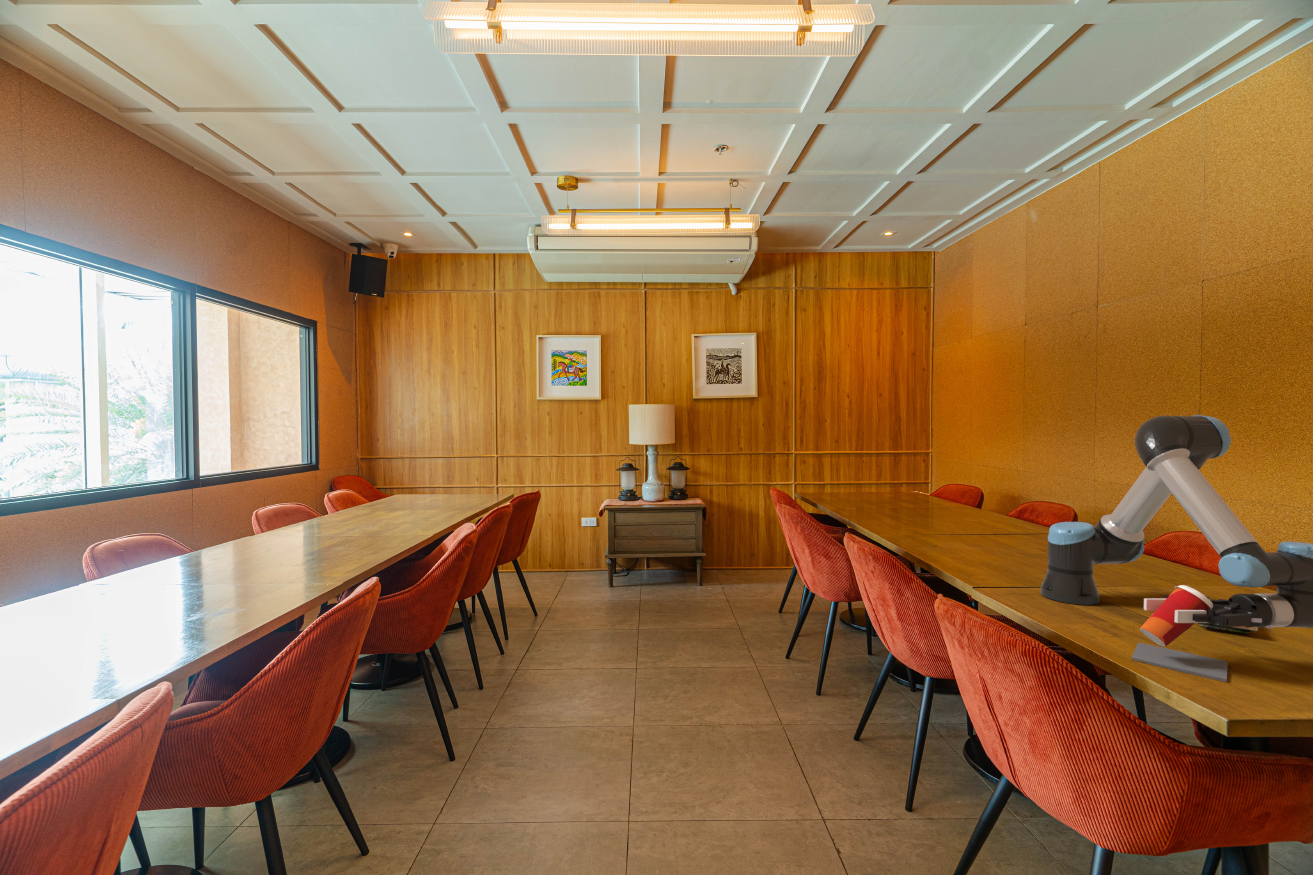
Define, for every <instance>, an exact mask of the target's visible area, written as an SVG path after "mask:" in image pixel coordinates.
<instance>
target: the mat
mask: <svg viewBox="0 0 1313 875" xmlns="http://www.w3.org/2000/svg"><path fill="white" fill-rule="evenodd" d="M1130 659H1133V660H1137V661H1140V662H1139V663H1142V662H1145V663H1144V664H1146V663H1147V665H1150V664H1151V665H1150V666H1155V667H1160V668H1163V667H1164V668H1165V669H1167V668H1168V670H1172V671H1177V672H1181V673H1184V674H1191V675H1194V676H1199V677H1202V678H1208V679H1212V680H1216V681H1221V682H1224V683H1227V682H1228V661H1227V660H1223V659H1218V658H1213V657H1209V656H1203V655H1199V654H1194V653H1191V652H1185V651H1181V650H1176V649H1170V648H1166V647H1163V646H1156V645H1153V644H1147V643H1144V642H1137V644H1136V647H1135V648H1134V650H1133V654H1132V655H1131V658H1130ZM1133 660H1132V661H1133ZM1137 661H1136V662H1137ZM1164 668H1163V669H1164Z"/></svg>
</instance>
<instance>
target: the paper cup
mask: <svg viewBox="0 0 1313 875" xmlns="http://www.w3.org/2000/svg"><path fill="white" fill-rule="evenodd" d="M1168 595H1169V597H1168V598H1167V599H1166V600H1165V601H1164V602H1163V603H1162V604H1161V605H1160V606H1159V608H1158V609H1157V610H1156V611H1153V613H1152V614H1151V615H1150V616H1149V617H1148V619H1146V621H1144V623H1143V624H1142V625H1141V626H1140V628H1139V630H1140V632H1141V633H1142V634H1143V635H1144V636H1145V637H1146V638H1148V639H1149V640H1150V641H1152V642H1154V643H1155V644H1157V645H1158V646H1159V647H1162V648H1166V647H1167V646H1168V645H1169V644H1171V643H1173V641H1175V640H1176V639H1178V637H1180V636H1181V635H1182V634H1184V633H1185V632H1187V631H1188V630H1189V629H1190V628H1191V627H1192V626H1194V625H1195V624H1196V623H1176V622H1175V610H1205V611H1207V613H1208V609H1212V607H1213V603H1212V602H1211V601H1210V600H1209V599H1210V598H1209V599H1208V598H1207V597H1208V596H1207V597H1206V595H1205V594H1203V593H1202V592H1200V591H1198V590H1196V589H1195V588H1192V587H1190V586H1189V585H1185V584H1181V585H1179V584H1178V586H1174V588H1173V591H1172V592H1171V593H1170V594H1168Z"/></svg>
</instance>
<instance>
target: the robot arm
mask: <svg viewBox="0 0 1313 875" xmlns="http://www.w3.org/2000/svg"><path fill="white" fill-rule="evenodd" d="M1231 443H1232V437H1231V435H1230V430H1229V428H1228V427H1227V425H1226V424H1225V423H1224V422H1223V421H1222V420H1220V419H1219V418H1216V417H1213V416H1207V415H1200V414H1195V415H1160V416H1159V415H1158V416H1153V417H1152V418H1150V419H1148V420H1146V421H1145V422H1143V423H1142V424H1141V425H1140V426H1139V428H1138V429H1137V431H1136V432H1135V436H1134V447H1135V450H1136V453H1137V455H1138V457H1139V459H1140V460H1141V462H1142V463H1143V465H1144V466H1145V468H1144V469H1143V471H1142V472H1141V473H1140V474H1139V476H1138V477H1137V479H1136V480H1135V482H1134V483H1133V484H1132V486H1131V487H1130V488H1129V489H1128V491H1127V492H1126V493H1125V495H1124V496H1123V498H1122V499H1121V501H1120V502H1119V503H1118V504H1117V506H1116V507H1115V509H1113V512H1111V514H1104V515H1103V516H1101V518H1100V519H1099V520H1098V522H1097V523H1096V525H1093V524H1091V523H1088V522H1083V521H1063V522H1057V523H1054V524H1052V525H1050V527H1049V529H1048V536H1047V541H1048V542H1047V543H1048V544H1047V547H1048V548H1047V570H1046V573H1045V575H1044V579H1043V581H1042V582H1041V585H1040V594H1041V595H1042V596H1043V597H1044V598H1047V599H1050V600H1053V601H1055V602H1060V603H1065V604H1071V605H1082V606H1086V605H1089V606H1090V605H1091V606H1092V605H1098V604H1099V603H1100V593H1099V589H1098V587H1097V584H1096V582H1095V578H1094V565H1111V564H1112V565H1114V564H1117V565H1118V564H1119V565H1121V564H1126V563H1131V562H1134V561H1136V560H1138V559H1139V558H1140V557H1141V556H1142V555H1143V553H1144V551H1145V545H1144V544H1145V532H1144V529H1145V528H1146V526H1147V525H1148V524H1149V523H1150V521H1151V520H1152V519H1153V518H1154V516H1155V515H1156V514H1157V513H1158V511H1159V510H1160V509H1161V508H1162V506H1163V505H1164V504H1165V502H1166V501H1167V500H1168V499H1169V497H1170V496H1171V495H1173V496H1174V498H1175V499H1176V500H1177V501H1178V503H1179V505H1181V507H1182V508H1183V510H1184V511H1185V512H1186V513H1187V515H1188V516H1189V517H1190V518H1191V520H1192V521H1193V523H1194V524H1195V525H1196V527H1197V528H1198V529H1199V530H1200V532H1201V533H1202V534H1203V536H1204V537H1205V539H1206V540H1207V541H1208V542H1209V544H1210V545H1211V547H1213V549H1214V550H1215V551H1216V552H1217V554H1218V555H1219V557H1220V560H1219V562H1218V566H1217V567H1218V570H1219V575H1220V576H1221V577H1222V578H1223V579H1224V580H1225V581H1226V582H1227V583H1229V584H1230V585H1233V586H1236V587H1241V588H1255V589H1256V588H1262V587H1274V586H1276V593H1269V592H1268V593H1264V592H1263V593H1261V592H1260V593H1256V592H1255V593H1236V594H1233V595H1232V596H1229V598H1228V599H1221V598H1220V599H1211V598H1210V597H1209V596H1206V595H1205V596H1206V597H1207V598H1208V599H1209V600H1210V601H1211V602H1212V603H1213V607H1212V609H1208V613H1207V611H1205V610H1175V622H1176V623H1195V624H1198V623H1206V622H1208V623H1210V624H1219V626H1221V627H1235V626H1244V627H1258V628H1266V629H1270V630H1272V629H1273V628H1307V629H1310V628H1311V629H1313V543H1308V542H1302V541H1301V542H1299V541H1282V542H1280V543H1279V544H1278V547H1277V549H1276V552H1274V551H1272V552H1266V550H1265V549H1263V547H1262V546H1261V545H1260V543H1259V542H1258V541H1257V539H1256V538H1254V536H1253V535H1252V533H1250V531H1249V530H1248V529H1247V528H1246V526H1245V525H1244V524H1243V523H1242V522H1241V520H1240V519H1239V518H1238V516H1237V515H1236V514H1235V513H1234V512H1233V511H1232V508H1230V506H1229V505H1228V504H1227V503H1226V502H1225V501H1224V499H1223V498H1222V497H1221V495H1220V494H1219V493H1218V492H1217V490H1216V489H1215V488H1214V487H1213V486H1212V484H1210V482H1209V481H1208V480H1207V478H1206V477H1205V476H1204V474H1203V473H1202V472H1201V471H1200V470H1201V468H1202V467H1203V466H1204V465H1205V464H1206V462H1207V461H1208V460H1209V459H1216V458H1218V457H1222V456H1224V454H1226V453H1227V452H1228V451H1229V449H1230V446H1231ZM1169 595H1170V594H1165V595H1164V598H1163V597H1161V598H1155V597H1152V598H1146V597H1145V598H1143V610H1144V611H1153V612H1155V611H1156V610H1157V609H1158V608H1159V606H1160V605H1161V604H1162V603H1163V602H1164V601H1165V600H1166V599H1167V598H1168V597H1169ZM1226 621H1227V622H1226Z"/></svg>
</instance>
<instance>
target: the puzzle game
mask: <svg viewBox="0 0 1313 875" xmlns="http://www.w3.org/2000/svg"><path fill="white" fill-rule="evenodd" d="M1226 622H1227V621H1226ZM1197 625H1198V626H1199V627H1201V626H1202V627H1203V628H1207V627H1209V629H1215V630H1220V629H1221V630H1222V631H1226V630H1228V631H1227V632H1232V631H1233V633H1239V632H1240V633H1241V634H1246V635H1248V634H1250V633H1252V632H1253V631H1254V632H1258V631H1259V627H1244V626H1235V627H1221V626H1219V624H1210V623H1208V622H1206V623H1197ZM1221 630H1220V631H1221ZM1240 633H1239V634H1240Z"/></svg>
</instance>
